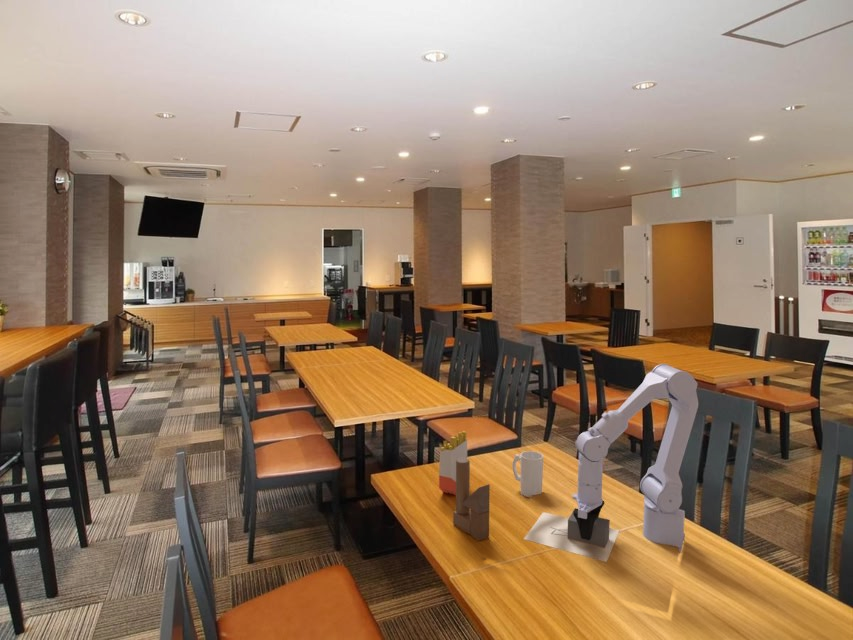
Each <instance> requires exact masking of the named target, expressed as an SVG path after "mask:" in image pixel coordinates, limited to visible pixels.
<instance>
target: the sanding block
mask: <svg viewBox="0 0 853 640" xmlns="http://www.w3.org/2000/svg"><path fill="white" fill-rule="evenodd" d="M568 518H569V519H568V537H567V539H570V540H574V541H578V542H582V543H585V544H589V545H593V546H597V547H601V548H605V547H606V545H607V542H608V540H609V528H610V524H611V523H610V521H611V520H610V519H607V518H603V517H597V519H596V520H595V522H594V525H593V530H592V535H591V538H590V540H586V539H582V538H581V536H580V531H579V526H578V523H577V520H576V518H575V517H574V514H573V511H572V513H571V514H570V516H569V517H568Z"/></svg>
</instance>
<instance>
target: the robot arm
mask: <svg viewBox="0 0 853 640" xmlns="http://www.w3.org/2000/svg"><path fill="white" fill-rule="evenodd" d="M698 385H699V384H698V382H697V380H695V378H694V377H693V376H692V375H691V374H690V373H689V372H688V371H685V370H681V369H679V368H676V367H673V366H672V365H669V364H667V363H660V364H656V366H655V367H653V369H652V370H651V371H649V372H648V373H647V374H646V375H645V377H644V379H643V381H642V383H641V384H640V385H639V386H638V387H637V388H636V389H635V390H634V391H633V392H632V393H631V395H630V396H629V397H628V398H626V400H625V401H624V402H623V403H622V404H621V405H620V407H619V408H617V409H615V410H614V409H613V410H612V409H611V410H608V411H607V412H603V413H602V414H601V418H600V419H599V420H598V421H597V422H596V423H595V424H594V425H593V426H592V427H591V426H590V427H588V429H587V430H588V431H587V430H586V431H583V432H582V433H580V434H579V435H578V436H577V438H576V440H575V441H574V445H575V447H576V449H577V451H578V461H577V464H578V467H577V468H578V469H577V493H573V494H572V500H576V503H577V507H578V508H576V507H575V508H574V510H573V511H572V512H573V514H574V517H575V518H576V520H577V523H578V526H579V531H580V536H581V538H582V539H586V540H590V538H591V535H592V530H593V525H594V522H595V520H596V519H597V517H599V516H600V514H601V513H600V512H602V511H601V510H602V509H603V507H604V506H605V501H604V500H603V464H604V463H603V462H604V461H603V460H604V458H606V457H607V455H608V453H609V452H608V451H609V448H610V447H611V445H612V443H614V442H615V441H616V440H617V439H618V438H619V437H620V436H621V435H622V434H623V433H624V432H625V431H626V430H627V429H628V428H629V420H631V419H632V418H633V417H635V416H636V414H638V413H639V412H640V411H641V410H643V409H644V408H645V407H646V406H648V404H650V403H651V402H652V401H653V400H663V399H667V400H668V401H669V402H670V404H671V409H670V412H669V416H668V420H667V422H666V426H665V429H664V434H663V436H662V438H661V439H662V440H661V443H660V445H659V446H660V447H659V450H658V454H657V456H656V459H655V460H656V461H655V464H653V465H651V466H650V467H648V469H647V472H646V473H645V475H644V476H643V477H642V478H641V479H640V483H639V488H640V491H641V493H642V494H643V495H644V502H643V503H644V504H643V524H642V525H643V526H642V535H643V537H644V538H645V539H646V540H648V541H650V542H652V543H655V544H659V545H660V544H661V545H669V546H673V547H678V553H682V550H683V544H684V541H685V536H686V534H685V516H686V513H685V512H686V511H685V510H683V509H680V507H681V505H682V503H683V495H682V489H683V483H682V480H681V477H680V474H679V473H680V469H681V466H682V462H683V460H684V457H685V453H686V449H687V446H688V441H689V439H690V435H691V434H692V433H691V431H692V429H693V426H694V422H695V419H696V415H697V412H698V408H699V399H698V393H697V387H698ZM599 518H600V517H599Z"/></svg>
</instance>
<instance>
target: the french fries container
mask: <svg viewBox="0 0 853 640" xmlns="http://www.w3.org/2000/svg"><path fill="white" fill-rule="evenodd" d="M457 433H458V435H456V434H455V435H453V436H450V442H449V441H448V440H443V446H441V447H440V452H439V471H438V482H439V483H438V489H440V490H441V492H442V493H444V492H445V494H448V493H449V495H452V494H453V496H456V460H457V459H460V458H465V459H468V439H467V431H465V430H463V431H460V432H457Z"/></svg>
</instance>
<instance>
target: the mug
mask: <svg viewBox="0 0 853 640" xmlns="http://www.w3.org/2000/svg"><path fill="white" fill-rule="evenodd" d="M518 461H520V463H519V464H520V467H519V469H520V474H519V473H518V470H517V463H518ZM543 470H544V455H543V454H542V453H541V452H538V451H535V450H534V451H532V450H528V451H522V452H520V454H518V453H516V454H514V458H513V460H512V471H513V475H514V479H515V481H519V482H520V494H521V495H522V496H523V495H524V496H523V497H526V498H530V497H531V498H532V497H533V496H536V495H541V493H542V492H543V479H544V478H543V475H544V474H543V473H544V471H543Z"/></svg>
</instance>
